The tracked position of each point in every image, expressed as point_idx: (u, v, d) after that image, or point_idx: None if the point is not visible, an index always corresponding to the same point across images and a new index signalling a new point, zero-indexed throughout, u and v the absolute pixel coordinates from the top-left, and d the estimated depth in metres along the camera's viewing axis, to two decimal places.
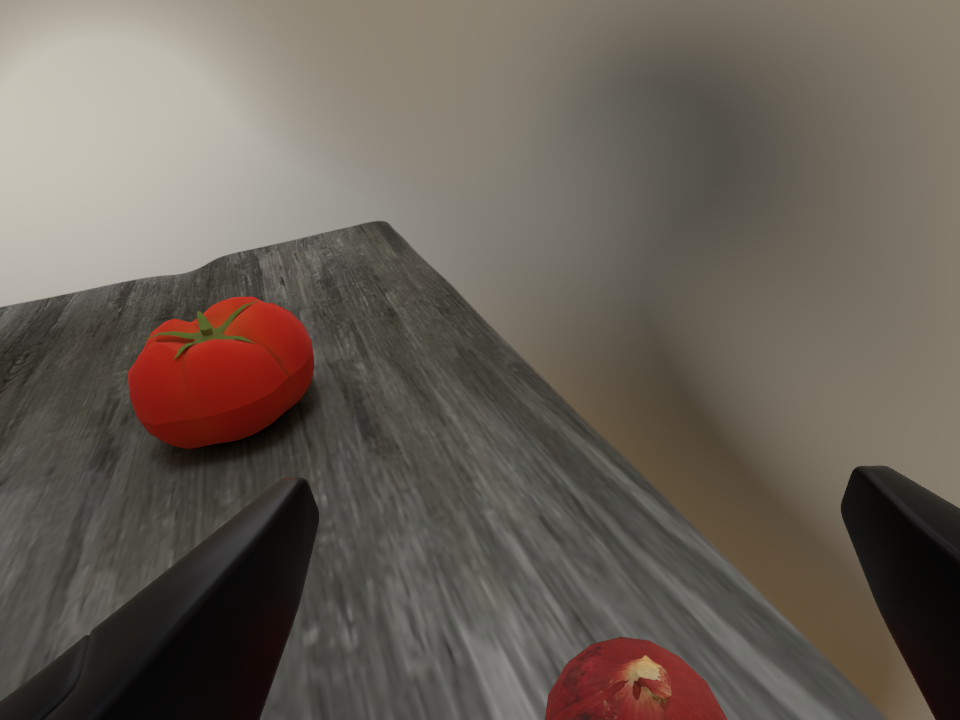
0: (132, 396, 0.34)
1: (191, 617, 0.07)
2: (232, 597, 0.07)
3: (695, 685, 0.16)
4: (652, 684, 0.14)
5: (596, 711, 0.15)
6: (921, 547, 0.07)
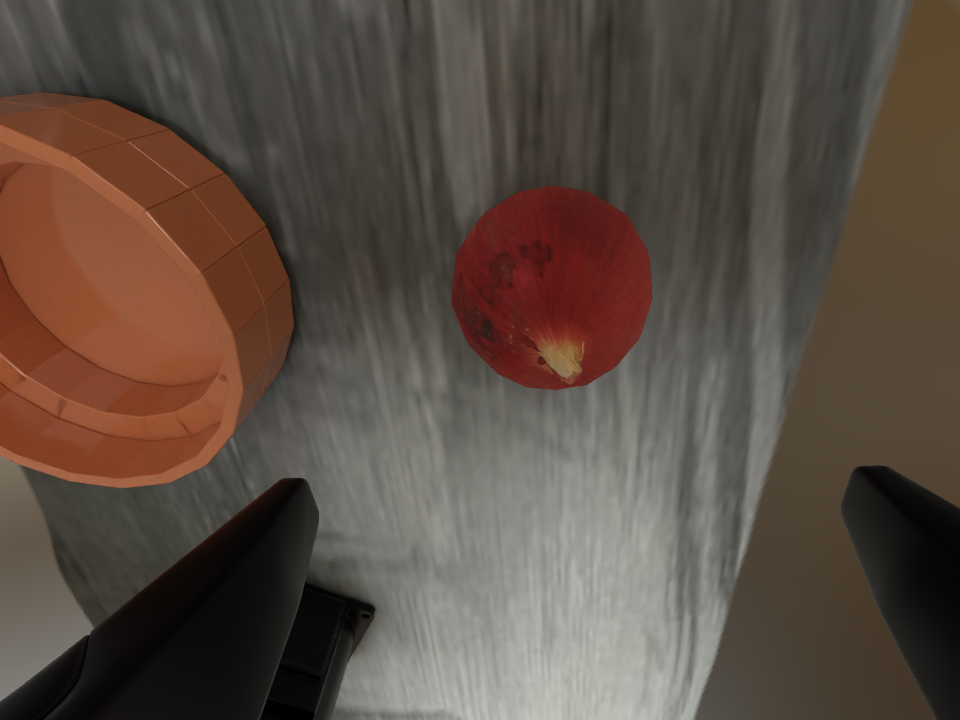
0: None
1: (191, 617, 0.07)
2: (232, 597, 0.07)
3: (621, 337, 0.14)
4: (558, 376, 0.12)
5: (499, 332, 0.13)
6: (921, 547, 0.07)
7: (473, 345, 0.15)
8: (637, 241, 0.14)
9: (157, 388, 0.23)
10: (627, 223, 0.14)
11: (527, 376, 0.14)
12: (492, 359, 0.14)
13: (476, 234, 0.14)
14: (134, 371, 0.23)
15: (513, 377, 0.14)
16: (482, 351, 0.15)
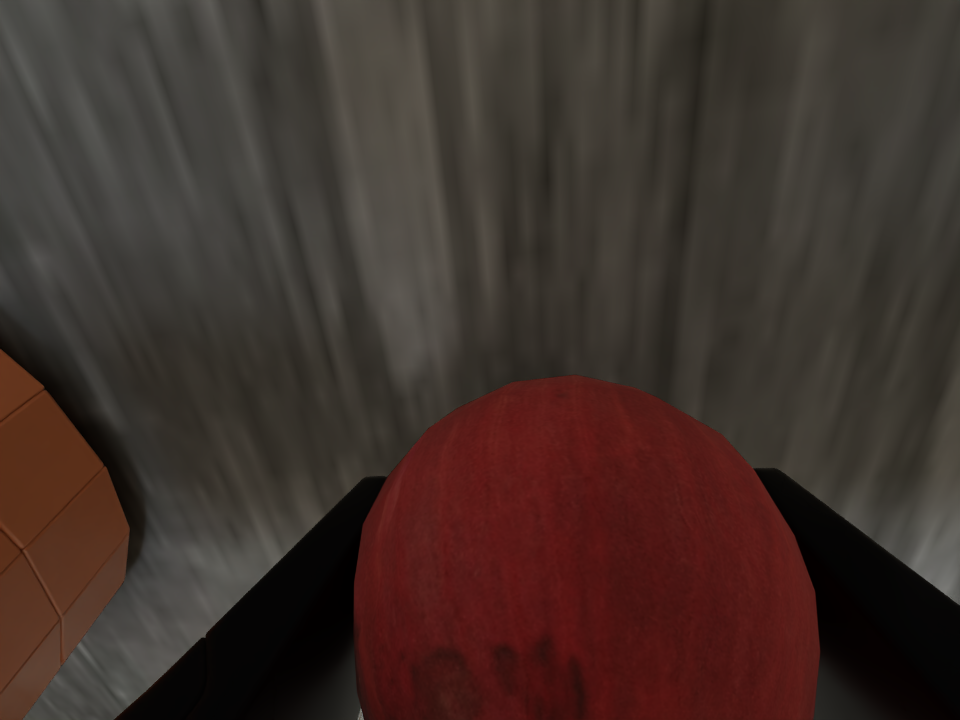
0: None
1: (306, 619, 0.06)
2: (337, 598, 0.07)
3: None
4: None
5: None
6: None
7: None
8: (792, 560, 0.06)
9: None
10: (769, 519, 0.06)
11: None
12: None
13: (393, 530, 0.06)
14: None
15: None
16: None
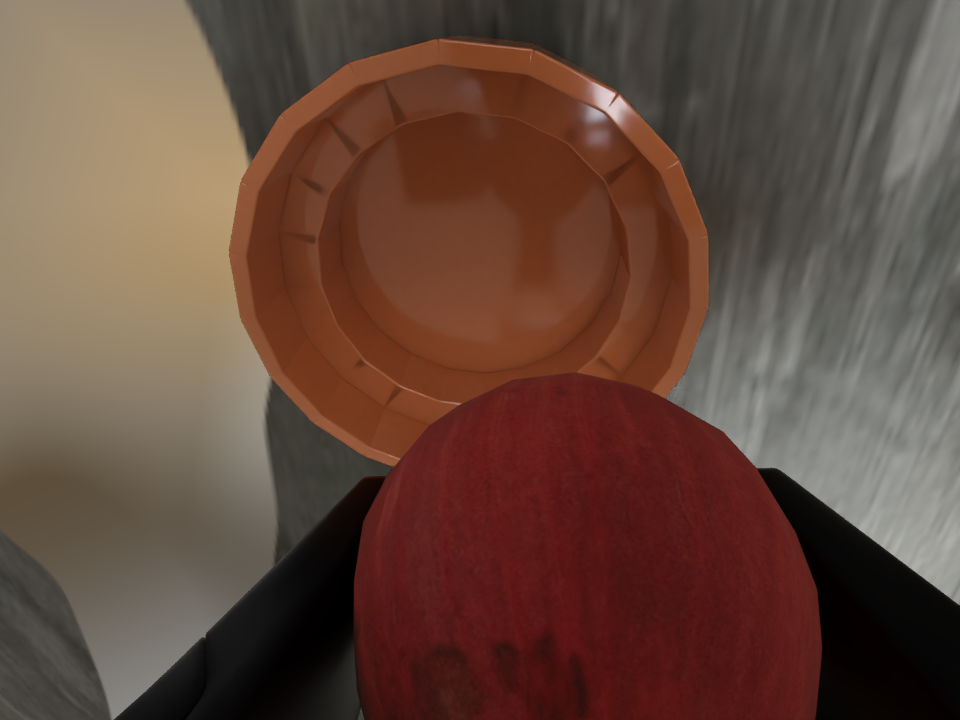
0: None
1: (306, 619, 0.06)
2: (337, 598, 0.07)
3: None
4: None
5: None
6: None
7: None
8: (794, 557, 0.06)
9: (473, 375, 0.21)
10: (771, 517, 0.06)
11: None
12: None
13: (394, 528, 0.06)
14: (448, 356, 0.21)
15: None
16: None
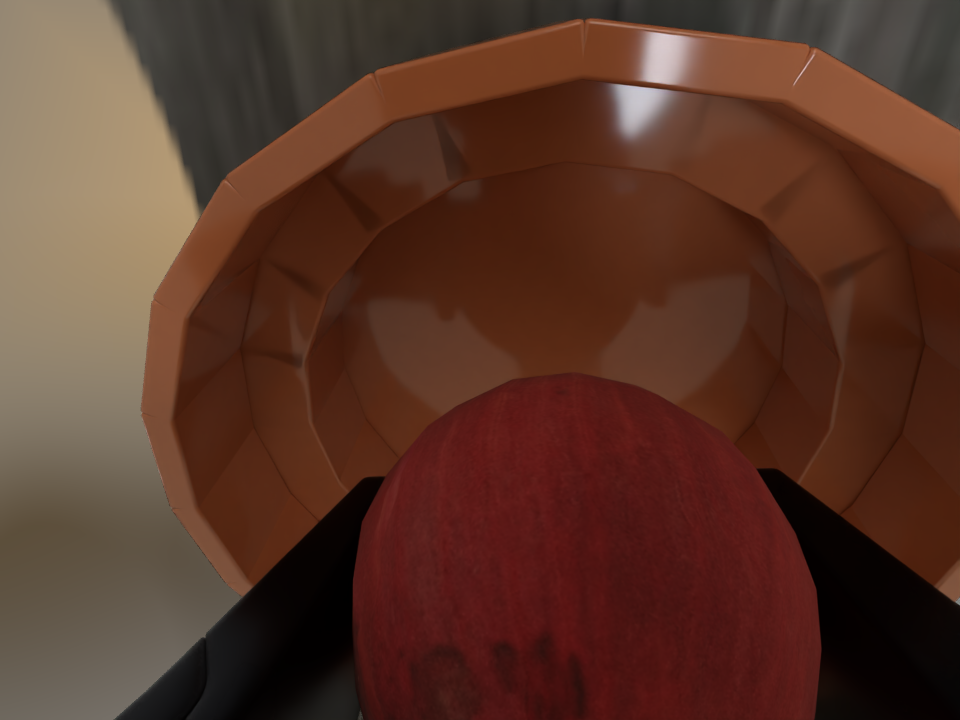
0: None
1: (306, 619, 0.06)
2: (337, 598, 0.07)
3: None
4: None
5: None
6: None
7: None
8: (793, 557, 0.06)
9: None
10: (770, 516, 0.06)
11: None
12: None
13: (393, 528, 0.06)
14: None
15: None
16: None
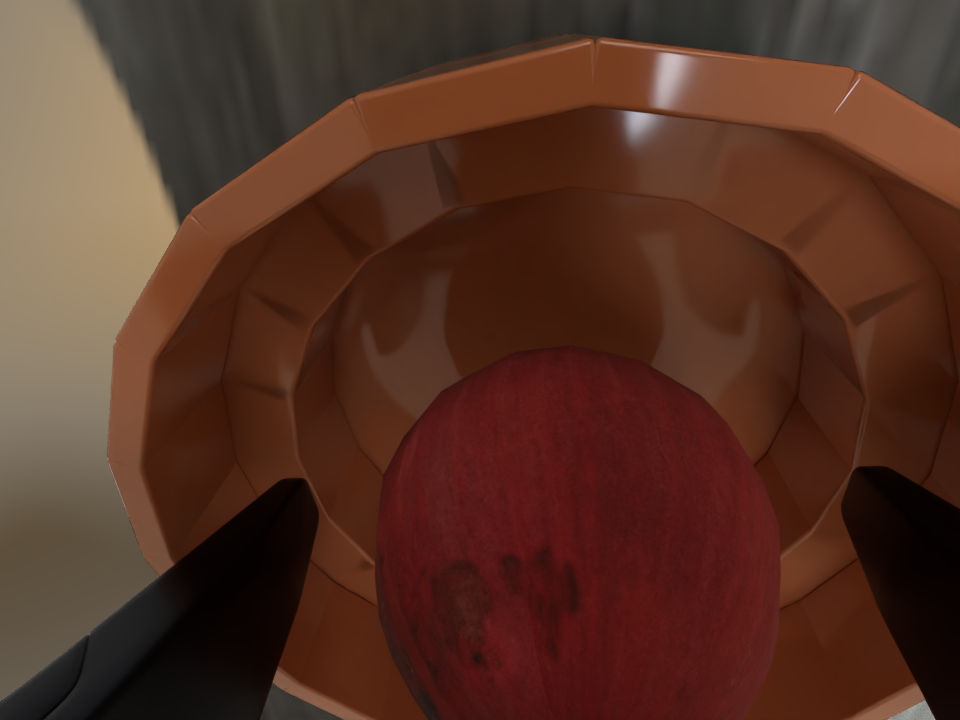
0: None
1: (191, 617, 0.07)
2: (232, 597, 0.07)
3: None
4: None
5: None
6: (921, 547, 0.07)
7: None
8: (758, 496, 0.07)
9: None
10: (738, 460, 0.06)
11: None
12: None
13: (413, 472, 0.07)
14: None
15: None
16: None
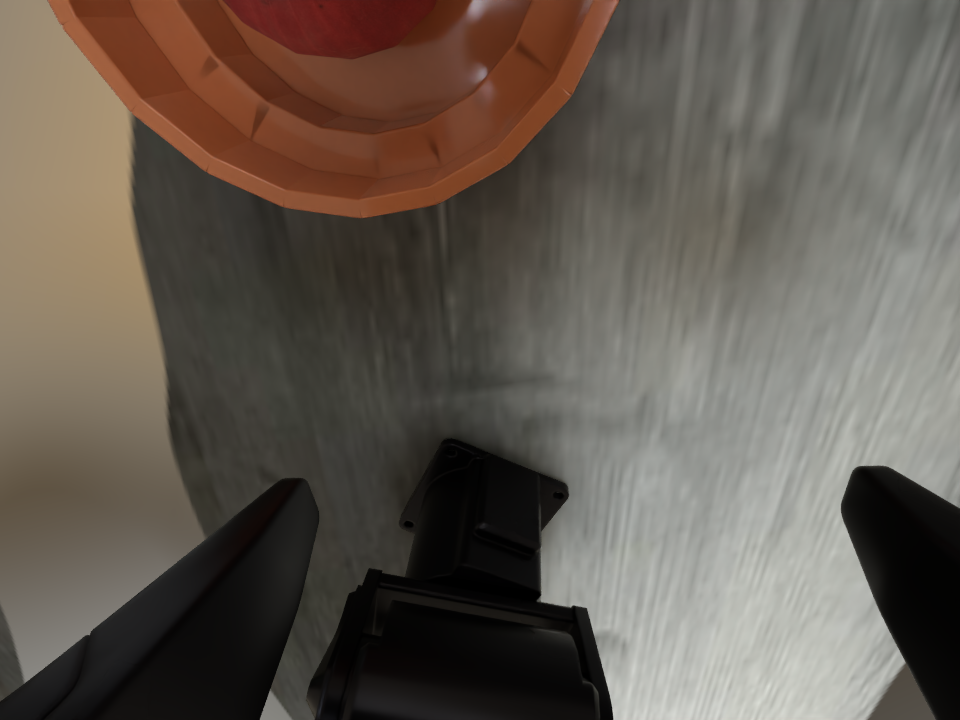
0: None
1: (191, 617, 0.07)
2: (232, 597, 0.07)
3: None
4: None
5: None
6: (921, 547, 0.07)
7: None
8: None
9: (373, 121, 0.16)
10: None
11: None
12: None
13: None
14: (342, 96, 0.16)
15: None
16: None
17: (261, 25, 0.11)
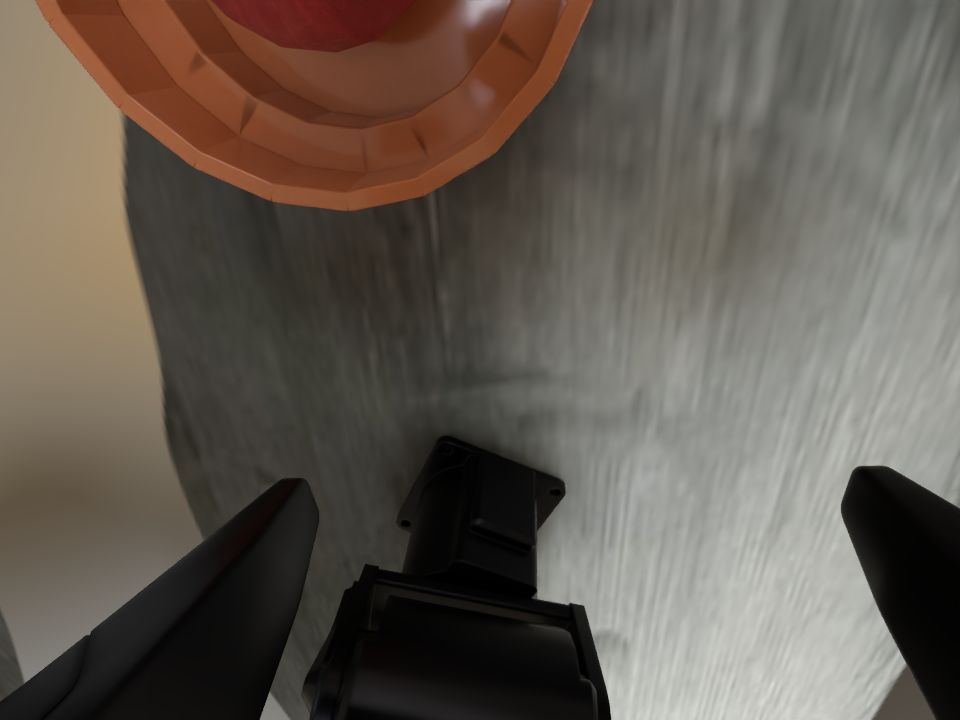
0: None
1: (191, 617, 0.07)
2: (232, 597, 0.07)
3: None
4: None
5: None
6: (921, 547, 0.07)
7: None
8: None
9: (362, 116, 0.16)
10: None
11: None
12: None
13: None
14: (330, 92, 0.16)
15: None
16: None
17: (243, 18, 0.11)
